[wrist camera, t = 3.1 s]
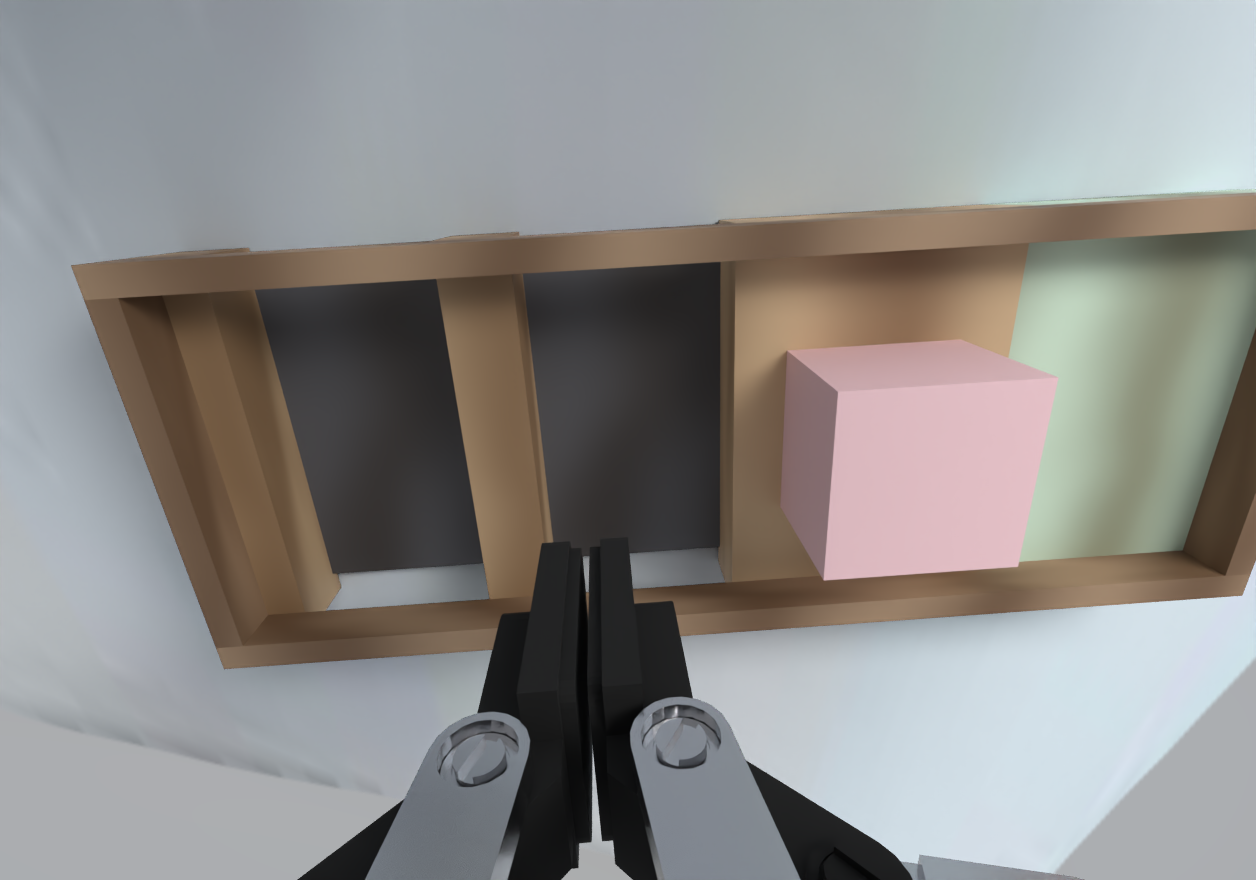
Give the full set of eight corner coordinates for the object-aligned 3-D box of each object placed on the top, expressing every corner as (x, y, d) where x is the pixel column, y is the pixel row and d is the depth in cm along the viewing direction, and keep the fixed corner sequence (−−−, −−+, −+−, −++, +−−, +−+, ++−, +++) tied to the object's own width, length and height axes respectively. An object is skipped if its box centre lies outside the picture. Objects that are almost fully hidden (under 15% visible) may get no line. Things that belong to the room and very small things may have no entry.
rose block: (786, 350, 17) (838, 392, 14) (960, 339, 17) (1058, 377, 14) (780, 506, 19) (823, 580, 15) (937, 495, 19) (1017, 566, 16)
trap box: (286, 591, 22) (223, 669, 19) (180, 251, 18) (70, 265, 14) (1138, 531, 23) (1242, 595, 19) (1239, 189, 19) (1398, 187, 15)
